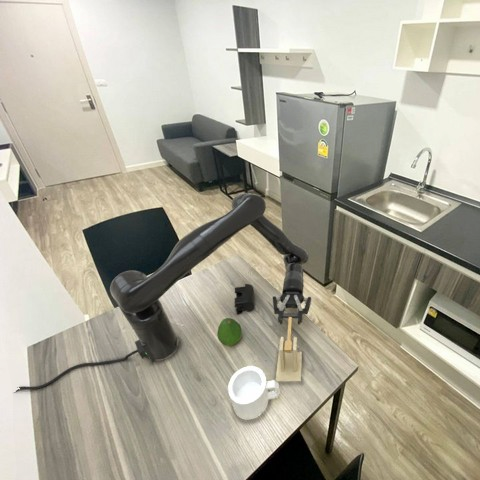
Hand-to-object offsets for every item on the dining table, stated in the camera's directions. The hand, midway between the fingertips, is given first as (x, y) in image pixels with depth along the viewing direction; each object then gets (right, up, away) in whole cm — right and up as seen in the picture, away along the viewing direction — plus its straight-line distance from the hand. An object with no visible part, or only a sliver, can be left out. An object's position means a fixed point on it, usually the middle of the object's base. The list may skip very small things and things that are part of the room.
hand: (289, 322), depth 85 cm
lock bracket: (0, -16, +2) cm, 16 cm away
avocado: (-22, -10, +10) cm, 26 cm away
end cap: (-21, 0, +23) cm, 31 cm away
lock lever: (0, -3, -1) cm, 3 cm away
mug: (-10, -22, -6) cm, 25 cm away
